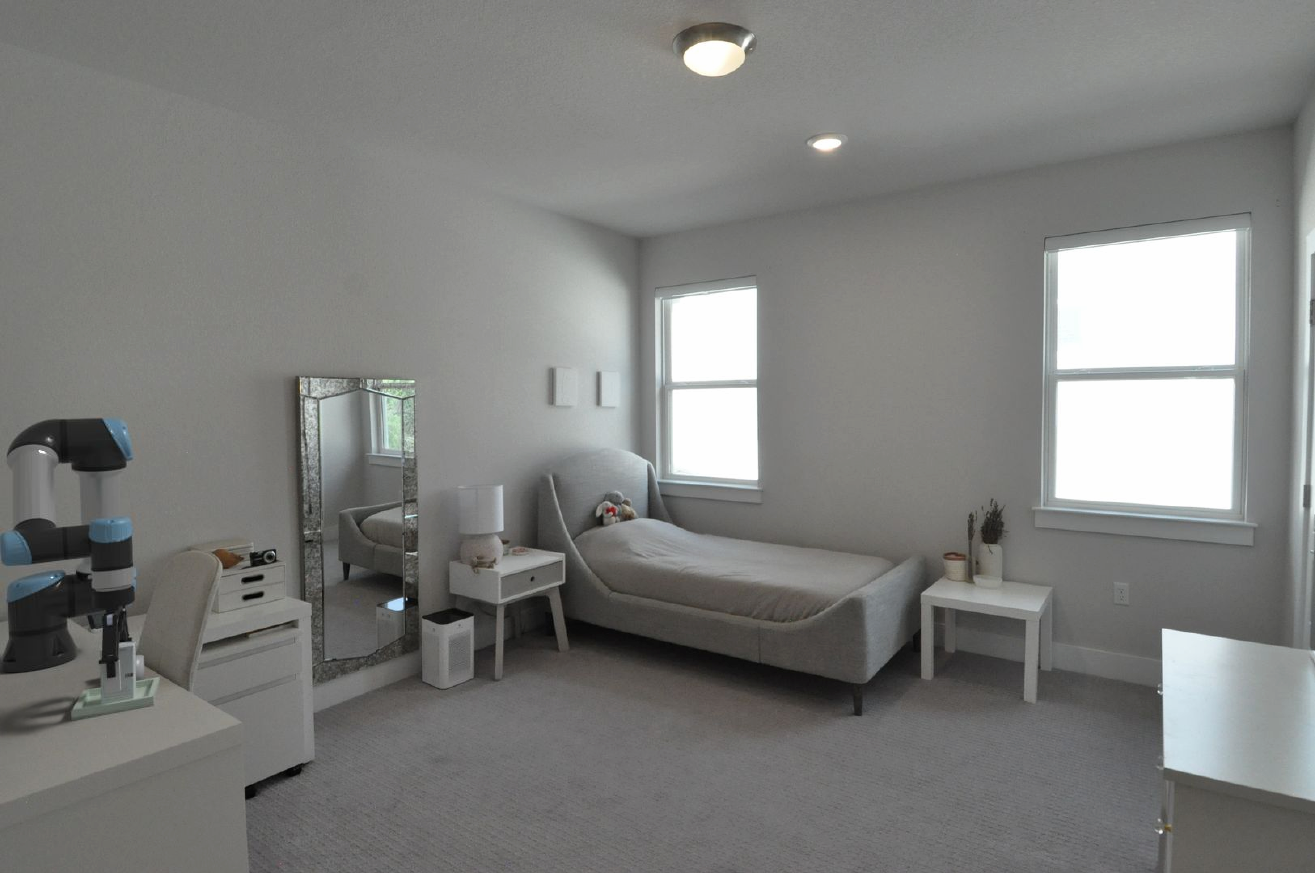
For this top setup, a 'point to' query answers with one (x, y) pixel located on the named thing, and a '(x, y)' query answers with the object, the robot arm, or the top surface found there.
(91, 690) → the sage dish
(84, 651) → the top surface
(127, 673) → the skincare box
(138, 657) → the grey smooth rounded part
